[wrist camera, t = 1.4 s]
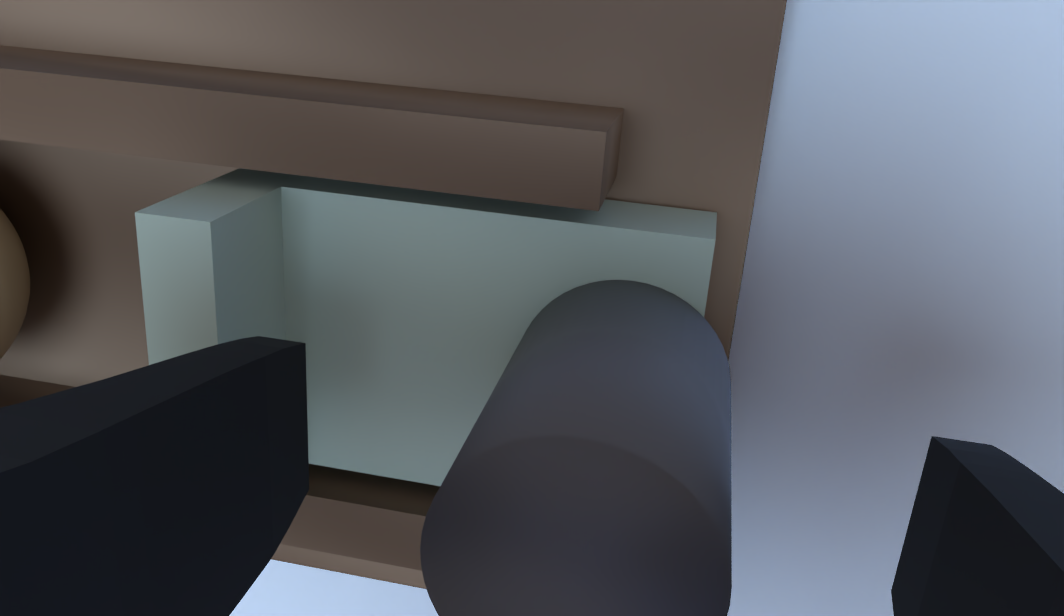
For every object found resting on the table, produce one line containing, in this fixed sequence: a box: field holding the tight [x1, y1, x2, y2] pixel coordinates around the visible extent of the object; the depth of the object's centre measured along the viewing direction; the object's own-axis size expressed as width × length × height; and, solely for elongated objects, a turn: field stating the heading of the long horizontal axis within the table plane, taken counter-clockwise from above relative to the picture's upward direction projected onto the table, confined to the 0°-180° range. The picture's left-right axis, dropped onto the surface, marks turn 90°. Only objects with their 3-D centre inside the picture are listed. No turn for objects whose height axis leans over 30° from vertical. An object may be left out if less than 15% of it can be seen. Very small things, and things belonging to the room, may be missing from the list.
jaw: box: [135, 168, 732, 616], centre depth 12 cm, size 4×8×6 cm, turn 86°
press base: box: [0, 0, 787, 589], centre depth 15 cm, size 11×22×3 cm, turn 86°
